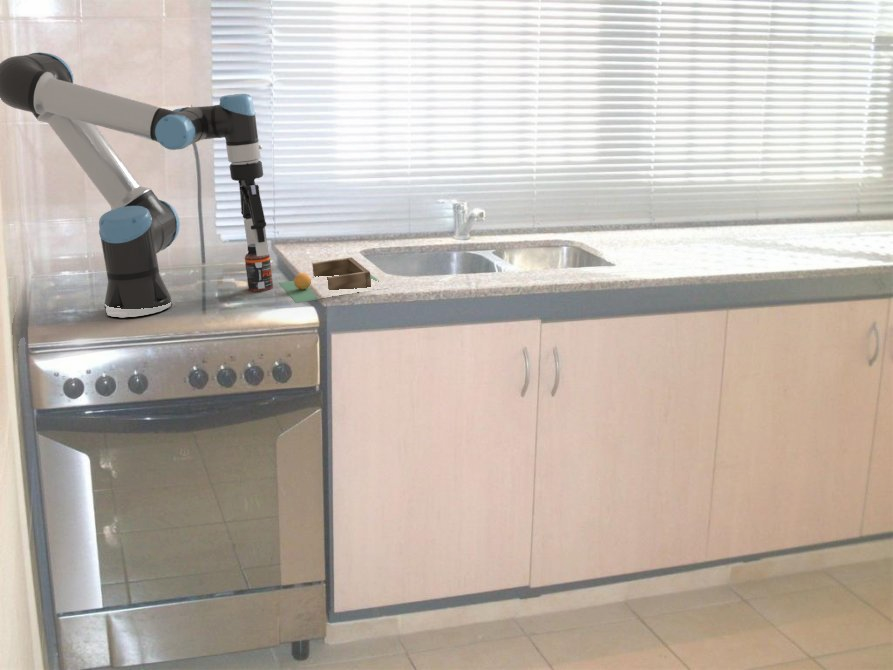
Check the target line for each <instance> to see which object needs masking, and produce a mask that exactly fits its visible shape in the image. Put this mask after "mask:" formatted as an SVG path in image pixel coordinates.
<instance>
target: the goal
mask: <svg viewBox="0 0 893 670" xmlns="http://www.w3.org/2000/svg"><path fill="white" fill-rule="evenodd" d="M311 265H312V266H311V267H312V272H313V273H312V274H313V275H312V276H313V277H314V276H315V277H316V276H318V277H319V276H332V277H327V280H328V289H329V290H339V289H354V288H355V289H357V288H367V287H371V278H370V274H371V271H369V270H368V269H366V268H365V267H364V266H363V265H362V264H361V263H359V262H358V261H357V260H355V259H354V258H353V256H350V257H345V258H338V259H331V260H325V261H319V262H318V261H317V262H312V264H311ZM334 275H339V276H334Z"/></svg>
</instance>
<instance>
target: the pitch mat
mask: <svg viewBox="0 0 893 670" xmlns="http://www.w3.org/2000/svg"><path fill="white" fill-rule="evenodd" d="M370 278H371V279H373V280H375V281H377V280H378V282H379V281H380V280H379V279H377V278H376V277H375V276H373V274H371V273H370ZM279 285H280V286H281V287H282V288H283V289H284V291H285V292H286V293H287V294H288V295H289V296H290V298H291V299H292V301H294V302H295V303H296V304H297V303H298V304H299V303H303V302H310V301H311V302H312V301H318V300H319V299H318V298H317V297H316V296H315V295H314V293H313V292H312V291H311V290H310V289H309V288H307V289H305V290H301V289H298V288H297V287H296V286H295V284H294V280H289V281H283V282H279Z"/></svg>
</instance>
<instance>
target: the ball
mask: <svg viewBox="0 0 893 670" xmlns="http://www.w3.org/2000/svg"><path fill="white" fill-rule="evenodd" d="M310 278H311V277H310V275H308V274H307V273H304V272H300V273H297V274H296V275H295V277H294V280H293V281H294V284H295V286H296V287H297V288H298V289H301V290H305V289H307V288H308V287H309V286H310V284H311V279H310Z"/></svg>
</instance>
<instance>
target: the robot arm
mask: <svg viewBox="0 0 893 670" xmlns="http://www.w3.org/2000/svg"><path fill="white" fill-rule="evenodd" d="M0 98H1V99H0V100H1V102H2V103H4V104H6V105H7V106H9V107H10V108H14V109H17V110H21V111H25V112H28V113H32V115H33V116H34V117H35V119H37V121H39V122H41V123H42V122H43V123H46V124H48V126H49V127H51V129H52V130H53V132H54V133H55V134H56V135H57V137H58V138H59V140H60V141H61V142H62V144H63V145H64V146H65V147H66V149H67V150H68V151H69V153H70V154H71V155H72V157H73V159H75V160H76V162H77V163H78V164H79V166H80V167H81V169H82V170H83V171H84V173H85V174H86V175H87V177H88V178H89V180H90V181H91V182H92V184H94V186H95V187H96V189H97V190H98V191H99V192H100V194H101V195H102V196H103V198H104V199H105V200H106V202H107V203H108V204H109V206H110V208H111V209H110V210H107V212H104V213H103V214H102V215H101V216H100V218H99V220H98V227H99V231H98V234H99V237H100V243H101V248H102V253H103V259H104V263H105V264H104V265H105V269H106V276H107V287H106V293H105V298H104V299H105V300H104V304H106V305H107V306H109V307H114V308H121V309H141V308H143V309H144V308H153V307H158V306H162V305H166V304H168V303H170V302H172V297H171V295H170V292H169V290H168V288H167V286H166V284H165V283H164V280H163V279H162V277H161V274H160V269H159V262H158V256H157V254H159V253H160V252H161V251H164V250H165V249H167V248H168V247H170V246H171V244H172V243H173V242H174V241H175V240H176V239H177V237H178V235H179V232H180V225H181V224H180V218H179V215H178V212H177V211H176V209H175V207H173V206H172V205H171V204H170V203H168V202H167V201H164V200H161V199H159V198H158V197H157V195H156V194H155V192H153V190H152V188H150V187H145V186H142V185H141V184H140V183H139V182H138V180H137V179H136V177H135V176H134V175H133V174H132V172H131V170H130V169H129V168H128V167H127V166H126V164H125V163H124V161H122V159H121V157H120V156H119V154H118V153H117V152H116V150H114V148H113V147H112V145H111V144H110V143H109V141H108V140H107V138H105V136H104V134H102V132H101V131H100V129H99V128H98V127H97V126H99V127H102V128H105V129H109V130H113V131H117V132H120V133H124V134H128V135H130V136H134V137H135V136H136V137H139V138H142V139H145V140H150V141H153V142H157V143H158V144H160V146H162V147H163V148H165V149H167V150H170V151H171V150H173V151H175V150H182V149H183V150H184V149H185V148H187V147H189V146H190V145H192V144H195V143H198V142H200V141H203V140H210V139H222V138H225V143H226V145H225V146H226V147H225V148H226V153H227V160H228V162H229V163H230V165H229V172H230V179H231V180H232V181H238V185H239V196H240V210H241V211H240V212H241V215H242V218H243V224H244V231H245V238H246V244H247V246H248V245H250V244H255V247H256V254H257V256H264V255H269V256H270V253H269V248H268V240H267V233H266V231H267V230H266V227H267V222H266V217H265V214H264V209H263V204H262V199H261V195H260V186H259V185H258V184H256V181H255V180H256V179H260V178H262V177H263V176H264V171H263V162H261V160H260V159H261V151H260V150H262V149H263V146H262V145H261V144H260V143H259V136H258V128H257V119H256V112H255V108H254V102H253V98H252V96H251V94H249V93H236V94H228V95H223V96H221V97H220V98H219V104H216V105H207V106H185V107H181V108H180V107H179V108H175V109H173V110H172V109H168V108H162V107H161V106H156V105H152V104H150V103H145V102H141V101H139V100H135V99H131V98H127V97H124V96H120V95H117V94H112V93H110V92H109V93H108V92H106V91H102V90H98V89H95V88H91V87H87V86H83V85H79V84H76V83H74V74H73V73H72V70H71V68H70V66H69V65H68V64H67V62H66V61H65V60H63V59H62V58H61V57H59V56H57V55H55V54H52V53H48V52H47V53H46V52H40V51H39V52H33V53H28V54H23V55H16V56H10V57H7V58H6V59H4V60H2V61H1V62H0ZM117 306H120V307H117Z"/></svg>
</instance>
